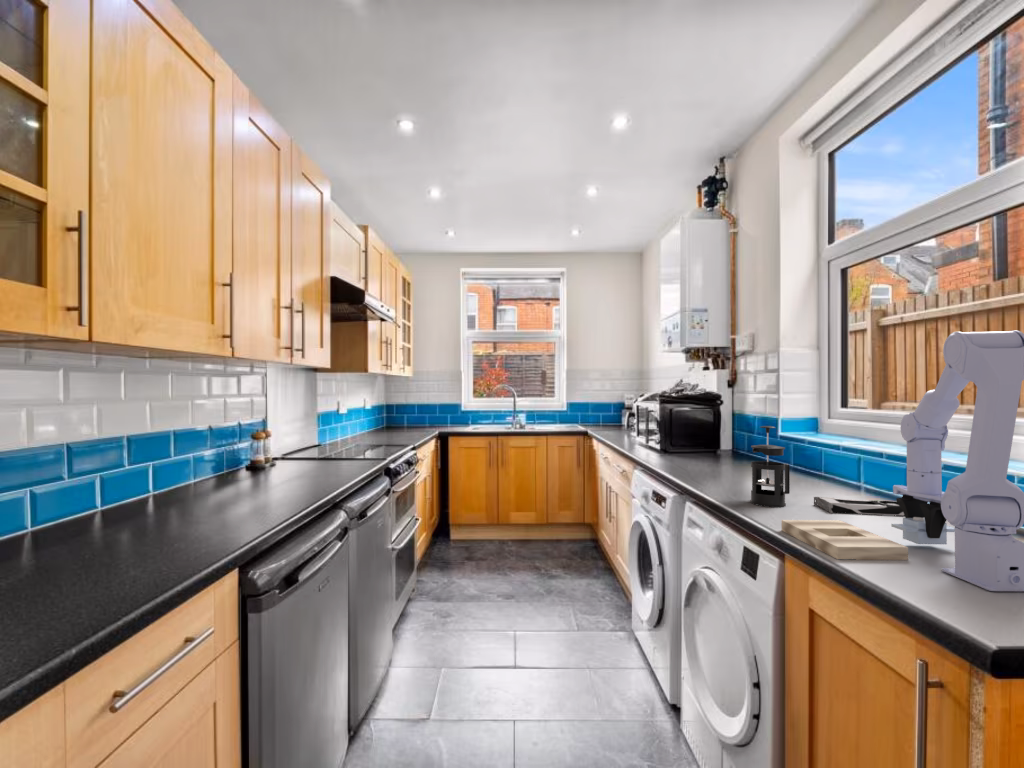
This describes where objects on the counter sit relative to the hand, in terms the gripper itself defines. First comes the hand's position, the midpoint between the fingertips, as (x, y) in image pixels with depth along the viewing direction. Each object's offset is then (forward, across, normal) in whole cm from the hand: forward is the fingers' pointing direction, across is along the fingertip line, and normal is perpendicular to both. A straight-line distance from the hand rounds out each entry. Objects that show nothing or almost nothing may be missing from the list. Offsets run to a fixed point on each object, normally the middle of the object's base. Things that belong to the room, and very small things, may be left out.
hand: (924, 534), depth 104 cm
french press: (+3, +40, +12) cm, 42 cm away
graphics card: (+3, +31, -11) cm, 33 cm away
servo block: (+1, 0, 0) cm, 1 cm away
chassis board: (+3, +2, +17) cm, 17 cm away
